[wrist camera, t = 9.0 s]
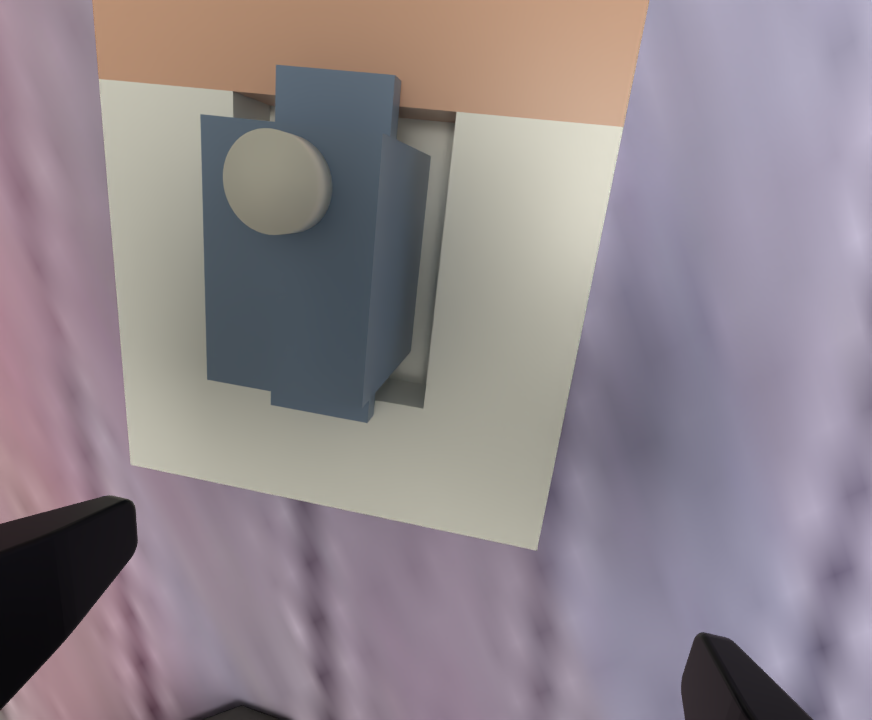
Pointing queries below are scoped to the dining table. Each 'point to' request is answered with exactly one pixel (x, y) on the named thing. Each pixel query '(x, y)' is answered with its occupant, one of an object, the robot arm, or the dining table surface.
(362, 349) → the block
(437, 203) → the chassis plate
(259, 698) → the dining table surface
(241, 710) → the liquor
